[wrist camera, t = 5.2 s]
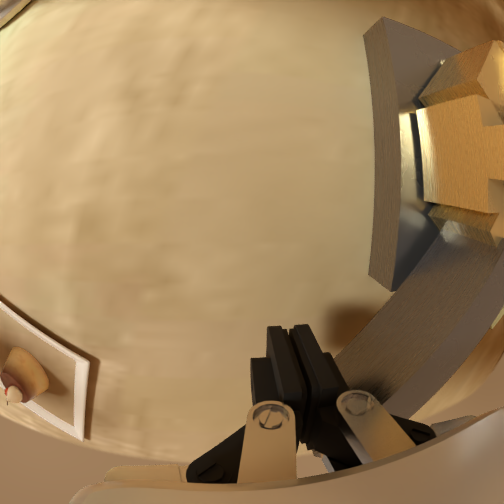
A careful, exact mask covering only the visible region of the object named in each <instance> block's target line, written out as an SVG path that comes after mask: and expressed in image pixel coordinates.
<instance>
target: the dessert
mask: <svg viewBox="0 0 504 504" xmlns="http://www.w3.org/2000/svg"><path fill="white" fill-rule="evenodd" d="M0 308H1V309H2V310H3V311H4V312H6V313H7V314H8V315H9V316H11V317H12V318H13V319H14V320H16V321H17V322H18V323H20V324H21V325H22V326H24V327H25V328H26V329H28V330H29V331H31V332H32V333H33V334H35V335H36V336H38V337H39V338H41V339H42V340H43V341H45V342H46V343H48V344H50V345H51V346H53V347H54V348H56V349H57V350H59V351H61V352H62V353H64V354H65V355H67V356H69V357H70V358H72V359H74V360H75V361H76V369H75V386H74V426H71V425H70V424H68V423H66V422H64V421H63V420H61V419H59V418H58V417H56V416H55V415H53V414H51V413H50V412H48V411H47V410H45V409H44V408H42V407H41V406H39V405H38V404H36V403H35V402H33V401H32V399H33V398H35V397H36V396H38V395H39V394H41V393H42V392H44V391H46V390H47V389H48V388H49V380H48V377H47V375H46V373H45V371H44V369H43V368H42V366H41V365H40V364H39V362H38V361H37V360H36V359H35V358H34V357H33V356H32V355H31V354H30V353H28V352H27V351H26V350H24V349H22V348H20V347H13V348H12V349H11V351H10V353H9V356H8V358H7V360H6V362H5V364H4V367H3V369H2V371H1V374H0V387H1V388H2V389H4V390H5V394H6V396H7V398H6V400H7V406H8V401H10V402H14V403H19V402H20V403H21V404H23V405H24V406H26V407H27V408H28V409H30V410H31V411H33V412H34V413H35V414H37V415H38V416H40V417H41V418H43V419H44V420H46V421H48V422H49V423H51V424H52V425H54V426H56V427H57V428H59V429H61V430H62V431H64V432H66V433H68V434H69V435H71V436H73V437H75V438H77V439H79V440H80V441H82V442H84V424H85V407H86V395H87V385H88V376H89V368H90V362H89V361H88V360H87V359H85V358H83V357H82V356H80V355H78V354H76V353H75V352H73V351H71V350H70V349H68V348H66V347H65V346H63V345H61V344H60V343H58V342H57V341H55V340H53V339H52V338H50V337H49V336H47V335H46V334H44V333H43V332H41V331H40V330H38V329H37V328H35V327H34V326H33V325H31V324H30V323H28V322H27V321H26V320H24V319H23V318H22V317H20V316H19V315H18V314H16V313H15V312H14V311H12V310H11V309H10V308H9V307H7V306H6V305H5V304H4V303H2V302H1V301H0Z"/></svg>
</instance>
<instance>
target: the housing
mask: <svg viewBox="0 0 504 504" xmlns="http://www.w3.org/2000/svg"><path fill="white" fill-rule="evenodd" d="M363 36H364V42H365V48H366V54H367V61H368V68H369V76H370V84H371V94H372V105H373V119H374V140H375V198H374V219H373V234H372V246H371V256H370V265H369V274H368V275H369V276H371V277H372V278H373V279H375V280H376V281H377V282H379V283H380V284H381V285H382V286H384V287H385V288H386V289H388V290H389V291H390V292H393V291H397V290H398V288H399V287H400V286H401V285H402V283H403V282H404V281H405V280H406V278H407V277H408V276H409V274H410V273H411V272H412V270H413V269H414V268H415V267H416V265H417V264H418V263H419V261H420V260H421V258H422V257H423V256H424V254H425V253H426V252H427V250H428V249H429V247H430V246H431V244H432V243H433V242H434V240H435V239H436V237H437V236H438V234H439V233H440V232H439V230H438V229H437V227H436V226H435V224H434V223H433V221H432V220H431V218H430V217H429V215H428V214H429V213H430V211H431V210H432V208H433V207H434V205H435V204H436V203H434V202H428V201H424V183H423V165H422V153H421V143H420V134H419V127H418V120H417V113H416V110H419V109H423V108H426V107H425V106H424V105H423V104H422V103H421V101H420V100H419V99H418V97H419V96H420V95H421V93H422V92H423V91H424V89H425V88H426V86H427V85H428V84H429V82H430V81H431V79H432V78H433V77H434V75H435V74H436V72H437V71H438V70H439V68H440V67H441V65H442V64H443V62H444V61H445V60H446V59H447V58H449V57H452V56H454V55H456V54H459V53H461V51H459V50H457V49H455V48H453V47H452V46H450V45H448V44H446V43H444V42H442V41H440V40H438V39H436V38H434V37H432V36H430V35H428V34H425V33H423V32H421V31H419V30H416V29H414V28H412V27H409V26H407V25H404V24H402V23H399V22H396V21H394V20H391V19H388V18H385V17H382V18H381V19H379V20H378V21H377V22H376V23H375V24H374V25H373V26H372V27H371V28H370V29H369V30H368V31H367V32H366V33H365V34H364V35H363ZM503 315H504V306H503V308H502V309H501V311H500V313H499V314H498V316H497V317H496V319H495V320H494V322H493V323H492V325H491V326H490V329H493V328H494V326H495V325H496V324H497V323H498V321H499V320H500V319H501V317H502V316H503Z"/></svg>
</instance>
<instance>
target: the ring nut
mask: <svg viewBox="0 0 504 504" xmlns="http://www.w3.org/2000/svg"><path fill="white" fill-rule="evenodd" d="M418 99H419V100H420V101H421V103H422V104H423V105H424V106H425V107H426V108H423V109H419V110H416V113H417V120H418V127H419V134H420V143H421V153H422V165H423V183H424V201H428V202H434V203H436V204H435V205H434V207H433V208H432V210H431V211H430V213H429V214H428V215H429V217H430V218H431V220H432V221H433V223H434V224H435V226H436V227H437V229H438V230H439V232H440V233H439V234H438V236H437V237H436V239H435V240H434V242H433V243H432V244H431V246H430V247H429V249H428V250H427V252H426V253H425V254H424V256H423V257H422V258H421V260H420V261H419V263H418V264H417V265H416V267H415V268H414V269H413V270H412V272H411V273H410V274H409V276H408V277H407V278H406V280H405V281H404V282H403V283H402V285H401V286H400V287H399V288H398V290H397V291H396V292H395V293H394V294H393V296H392V297H391V298H390V299H389V300H388V302H387V303H386V304H385V305H384V306H383V307H382V308H381V310H380V311H379V312H378V313H377V314H376V315H375V316H374V318H373V319H372V320H371V321H370V322H369V323H368V324H367V325H366V326H365V327H364V328H363V330H362V331H361V332H360V333H359V334H358V335H357V336H356V337H355V338H354V339H353V340H352V341H351V342H350V343H349V344H348V345H347V346H346V347H345V348H344V349H343V350H342V351H341V352H340V353H339V354H338V355H337V356H336V357H335V358H334V361H335V363H336V365H337V367H338V369H339V370H340V372H341V374H342V376H343V378H344V380H345V382H346V384H347V385H348V387H349V389H350V390H362V391H366V392H368V393H370V394H372V395H373V396H374V397H375V398H376V399H377V400H378V401H379V403H380V404H381V405H382V406H383V407H384V408H385V410H386V411H387V412H388V413H389V414H392V415H395V416H398V417H402V418H405V419H409V418H410V417H411V416H412V415H413V414H415V413H416V412H417V411H418V410H419V409H420V408H421V407H422V406H423V405H424V404H425V403H426V402H427V401H428V400H429V399H430V398H431V397H432V396H433V395H434V394H435V393H436V392H437V391H438V390H439V389H440V388H441V387H442V386H443V385H444V384H445V383H446V382H447V381H448V380H449V378H450V377H451V376H452V375H453V374H454V373H455V372H456V371H457V369H458V368H459V367H460V366H461V365H462V363H463V362H464V361H465V360H466V359H467V357H468V356H469V355H470V354H471V352H472V351H473V350H474V348H475V347H476V346H477V345H478V343H479V342H480V340H481V339H482V338H483V336H484V335H485V334H486V332H487V331H488V329H489V328H490V326H491V325H492V323H493V322H494V320H495V319H496V317H497V316H498V314H499V313H500V311H501V309H502V308H503V306H504V43H503V42H502V41H500V40H498V41H495V40H492V41H489V42H487V43H484V44H481V45H479V46H476V47H474V48H471V49H469V50H466V51H464V52H461V53H459V54H456V55H454V56H452V57H449V58H447V59H446V60H445V61H444V62H443V64H442V65H441V67H440V68H439V70H438V71H437V72H436V74H435V75H434V77H433V78H432V79H431V81H430V82H429V84H428V85H427V86H426V88H425V89H424V91H423V92H422V93H421V95H420V96H419V97H418ZM312 451H313V454H314V456H316V457H320V458H321V453H319V452H317V451H315V450H314V449H312Z"/></svg>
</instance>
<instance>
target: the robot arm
mask: <svg viewBox="0 0 504 504" xmlns="http://www.w3.org/2000/svg"><path fill="white" fill-rule="evenodd" d="M30 1H31V0H0V28H1V27H2V26H3V25H4V24H6V23H7V22H8V21H9V20H11V19H12V18H13V17H14V16H15V15H16V14H17V13H18V12H20V11H21V10H22V9H23V8H24V7H25V6H26V5H27V4H28V3H29V2H30ZM250 365H251V392H252V402H253V407H252V408H251V409H250V410H249V412H248V415H247V421H246V424H245V425H244V426H243V427H242V428H240V429H239V430H238V431H236V432H235V433H234V434H232V435H231V436H229V437H228V438H227V439H225V440H224V441H223V442H221V443H220V444H218V445H217V446H215V447H214V448H213V449H211V450H210V451H208V452H207V453H205V454H204V455H202V456H201V457H199V458H198V459H196V460H194V461H193V462H192V463H191V464H190V465H186V466H178V464H169V465H149V466H116V467H114V468H112V469H110V470H109V471H108V472H107V473H106V475H105V479H104V482H101V483H97V484H92V485H89V486H86V487H84V488H82V489H81V490H80V491H79V492H77V493H76V494H75V495H74V497H73V498H72V499H71V501H70V503H69V504H504V407H500V408H497V409H494V410H491V411H489V412H486V413H484V414H481V415H479V416H477V417H476V416H465V417H461V418H457V419H453V420H448V421H444V422H439V423H435V424H432V425H431V426H430V427H429V426H427V425H425V424H422V423H419V422H415V421H412V420H408V419H405V418H402V417H398V416H395V415H392V414H389V413H388V412H387V411H386V410H385V408H384V407H383V406H382V405H381V404H380V403H379V401H378V400H377V399H376V398H375V397H374V396H373V395H372V394H370V393H368V392H366V391H362V390H350V389H349V387H348V385H347V384H346V382H345V380H344V378H343V376H342V374H341V372H340V370H339V369H338V367H337V365H336V363H335V361H334V359H333V357H332V355H331V354H330V353H329V352H325V353H322V351H321V349H320V347H319V345H318V343H317V341H316V339H315V337H314V335H313V333H312V331H311V329H310V327H309V325H308V324H303V325H294V329H290V330H289V335H288V332H287V329H282V327H281V326H268V327H267V349H266V357H264V358H251V364H250ZM299 441H300V442H301V443H302V444H303V443H306V446H307V450H312V449H314V450H315V451H317V452H319V453H321V459H322V461H323V463H324V465H325V467H326V469H327V470H328V472H329V473H326V474H321V475H316V476H311V477H305V478H298V479H297V468H296V467H297V466H296V453H297V450H298V446H299Z"/></svg>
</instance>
